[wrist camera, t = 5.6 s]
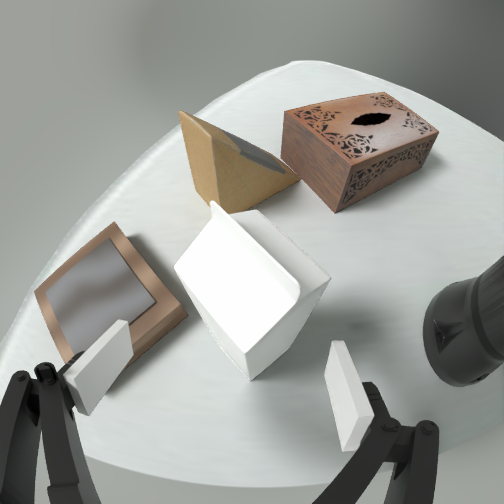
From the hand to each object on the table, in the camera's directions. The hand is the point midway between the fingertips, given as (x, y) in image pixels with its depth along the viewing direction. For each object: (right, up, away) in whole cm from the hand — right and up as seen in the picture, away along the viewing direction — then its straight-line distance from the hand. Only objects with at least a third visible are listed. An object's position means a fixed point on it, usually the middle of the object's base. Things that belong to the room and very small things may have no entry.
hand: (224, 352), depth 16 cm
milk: (+2, -5, +14) cm, 15 cm away
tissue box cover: (+21, +23, +31) cm, 44 cm away
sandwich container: (+1, +17, +27) cm, 32 cm away
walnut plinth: (-17, -1, +16) cm, 24 cm away
